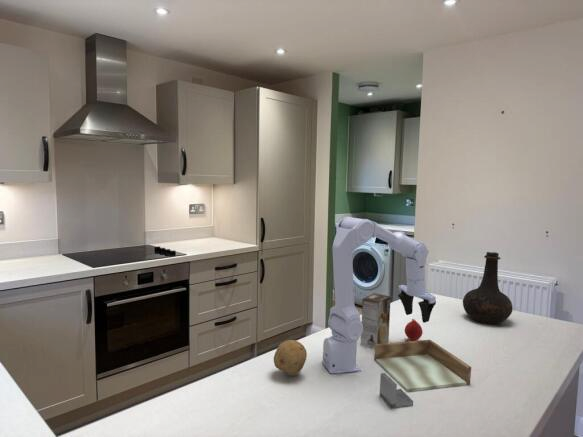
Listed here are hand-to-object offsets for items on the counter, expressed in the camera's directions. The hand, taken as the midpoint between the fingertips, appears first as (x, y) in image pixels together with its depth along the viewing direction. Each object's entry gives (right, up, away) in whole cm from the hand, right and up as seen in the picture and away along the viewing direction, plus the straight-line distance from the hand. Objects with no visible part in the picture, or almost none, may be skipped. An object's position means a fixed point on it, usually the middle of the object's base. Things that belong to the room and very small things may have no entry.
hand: (417, 317), depth 131 cm
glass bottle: (+38, -9, +32) cm, 50 cm away
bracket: (-15, -13, -31) cm, 37 cm away
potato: (-42, -11, -19) cm, 47 cm away
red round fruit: (+1, -10, +7) cm, 13 cm away
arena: (-5, -12, -16) cm, 20 cm away
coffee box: (-13, -10, +5) cm, 17 cm away
